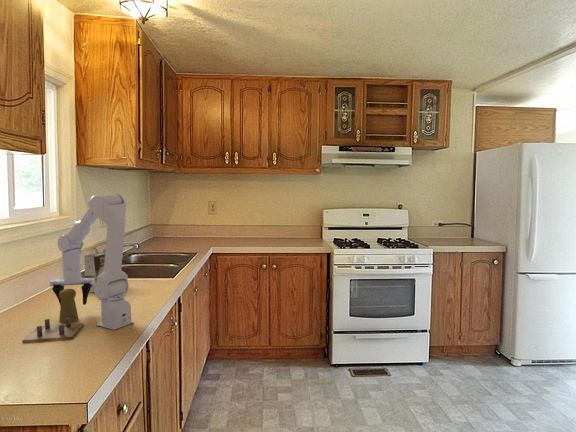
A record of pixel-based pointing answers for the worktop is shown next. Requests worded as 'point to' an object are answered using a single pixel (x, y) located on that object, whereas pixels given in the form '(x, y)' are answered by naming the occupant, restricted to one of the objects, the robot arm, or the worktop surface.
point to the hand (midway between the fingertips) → (73, 304)
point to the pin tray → (54, 332)
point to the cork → (68, 305)
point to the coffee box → (94, 266)
